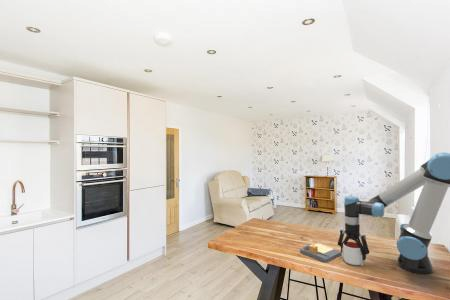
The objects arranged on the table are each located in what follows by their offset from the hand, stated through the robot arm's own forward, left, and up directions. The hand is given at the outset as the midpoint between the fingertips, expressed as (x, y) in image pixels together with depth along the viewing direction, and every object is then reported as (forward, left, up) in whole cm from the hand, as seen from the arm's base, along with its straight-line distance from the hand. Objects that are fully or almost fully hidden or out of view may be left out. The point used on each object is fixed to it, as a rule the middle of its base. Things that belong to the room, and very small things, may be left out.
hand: (353, 261), depth 141 cm
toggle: (+19, +11, +2) cm, 22 cm away
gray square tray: (+18, +5, 0) cm, 19 cm away
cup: (0, 0, -1) cm, 1 cm away
